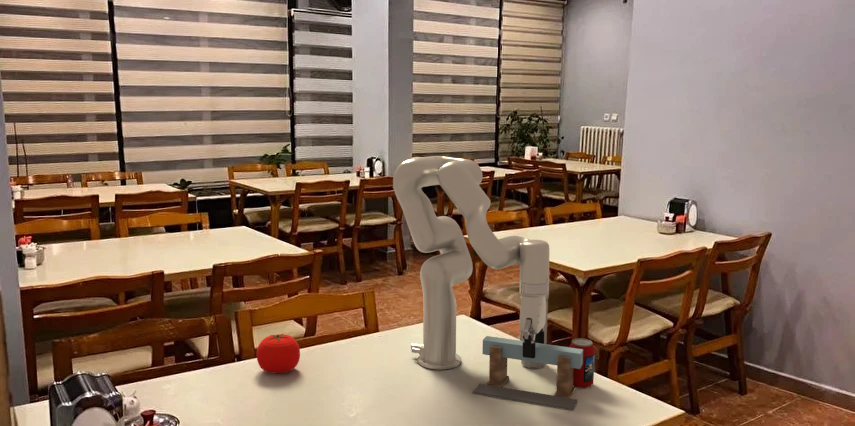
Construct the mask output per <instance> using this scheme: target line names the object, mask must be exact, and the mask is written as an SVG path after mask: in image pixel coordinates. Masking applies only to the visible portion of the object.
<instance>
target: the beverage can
mask: <svg viewBox="0 0 855 426" xmlns="http://www.w3.org/2000/svg"><path fill="white" fill-rule="evenodd" d="M568 347H570V348H577V349H583V364H582V366H581V368H580V369H577V368H574V374H573V386H574V387H575V388H577V389H578V388H579V389H587V388H590V387H591V386H593V385H594V381H595V380H594V379H595V378H594V377H595V357H596V354H595V353H596V348H595V346H594V344H593V341H592V340H590V339H588V338H581V337H580V338H574V339H572V340H571V342H570V345H569V346H568Z"/></svg>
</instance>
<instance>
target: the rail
mask: <svg viewBox="0 0 855 426" xmlns="http://www.w3.org/2000/svg"><path fill="white" fill-rule="evenodd" d="M490 346H497V347H502V357H504V358H507V359H511V360H518V361H521V360H524V361H531V362H537V363H544V364H546V365H551V366H552V365H553V366H557V361H558V355H559V356H566V357H570V368H577V369H580V368H581V366H582V364H583V349H577V348H570V347H569V346H562V345H561V346H560V345H556V344H555V345H554V344H547V343H546V344H541V343H536V345H535V358H526V357H523V341H521V340H518V339H511V338H504V337H497V336H490V335H486V336H485V337H484V338H483V339H482V355H484V356H485V355H486V356H490Z"/></svg>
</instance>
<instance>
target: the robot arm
mask: <svg viewBox="0 0 855 426" xmlns="http://www.w3.org/2000/svg"><path fill="white" fill-rule="evenodd" d="M479 165H480V164H479V163H477V162H476V161H474V160H473V159H472V160H471V159H466V158H458V157H450V156H444V155H443V156H442V155H431V156H423V157H422V156H421V157H414V158H413V157H412V158H409V159H406V160H404V161H403V162H401V163H400V164H399V165H398V166H397V168H396V169H395V170H394V171H395V172H394V173H393V179H392V185H393V186H392V187H393V192H394V194H395V196H396V199H397V201H398V203H399V205H400V207H401V210H402V212H403V215H404V218H405V221H406V224H407V227H408V230H409V232H410V236H411V239H412V241H413V243H414V246H415V248H416V250H418V251H419V252H420V253H424V254H427V253H429V254H430V253H433V252H436V251H439V254H438V255H433V256H432V257H429V258H428V259H426V260H425V261H424V262H423V264H422V265H421V267H420V271H419V276H420V277H419V278H420V284H421V289H422V302H423V303H422V308H423V311H422V312H423V315H422V316H423V317H422V318H423V320H422V321H423V322H422V323H423V326H422V327H423V328H422V329H423V331H422V332H423V333H422V337H423V339H422V342H423V343H422V344H418V343H411V345H410V350H411V353H413V354H414V353H415V354H419V355H418V357H417V363H418V364H419V365H420V366H421V367H423V368H426V369H430V370H439V371H440V370H441V371H442V370H450V369H454V368H457V367H458V366H460V365H461V363H462V358H461V357H462V356H461V355H460V354H458V353H457V299H456V296H455V294H454V289H453V286H456V285H457V284H460V283H463V282H465V281H467V280H469V278H470V277H471V276H472V273H473V271H474V270H473V261H472V257H471V254H470V251H469V248H468V246H467V243H466V239H465V238H464V234H463V232H462V229H461V227H460V225H459V224H458V223H457V221H456V220H455V219H453V218H452V217H450V216H445V215H441V216H437V215H436V213H435V211H434V207H433V204H432V202H431V200H430V199H429V197H428V196H427V194H426V193H424V191H423V190H422V188H424V187H425V188H426V187H429V186H430V187H431V186H440V187H441V189H442V190H443V192H444V193H445V194H446V196H447V197H448V198H449V200H450V201H451V202H452V203H453V205H454V206H455V207H456V208H457V210H458V211H459V212H460V214H461V215H462V217H463V218H464V221H465V222H464V223H465V231H466V235H467V238H468V241H469V243H470V246H471V247H472V249H473V250H474V251H475V253H476V254H477V256H478V257H479V258H480V260H481V261H482V262H483V263H485V265H486V266H487V267H489V268H491V269H493V270H502V269H505V268H508V267H510V266H514V265H518V264H519V294H520V295H521V296H522V298H520V299H521V300H520V306H519V307H520V308H519V309H520V310H519V311H520V312H519V324H518V325H519V326H518V327H519V329H518V331H519V332H520V334H521V333H522V332H523V334H524V336H523V357H526V358H535V345H536V343H541V344H544V325H545V320H546V297H545V296H547V295H548V296H549V294H550V245H549V243H548V242H547V241H546V240H542V239H530V238H526V237H523V236H519V235H510V236H504V237H501V238H498V237H497V236H496V235H495V233H494V232H493V231H492V229H491V228H490V226H489V223H488V221H487V212H488V210H489V209H490V208H491V207H490V206H491V199H490V198H489V196H488V195H487V194H486V193H485V190H483V189H482V187H481V186H480V185H481V183H482V181H483V177H484V176H483V171H482V168H481V166H479ZM530 330H532V331H530ZM529 334H530V335H529ZM531 335H532V338H531Z"/></svg>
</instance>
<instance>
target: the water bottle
mask: <svg viewBox="0 0 855 426" xmlns="http://www.w3.org/2000/svg"><path fill="white" fill-rule="evenodd" d="M545 297H546V320H545V325H544V344H547V338H548V335H547V333H548V307H549V297H550V296H549V294H548V295H547V296H545ZM521 298H522V295H521V296H520V299H521ZM530 331H532V330H530ZM519 335H520V336H519V337H520V338H519V339H520V340H519V341H523V336H524V334H523V332H522V333H521V332H520V334H519ZM529 335H530V334H529ZM531 338H532V335H531ZM520 361H521V362H520V363H521V364H522V365H523V367H525V368H528V369H532V370H536V369H537V370H538V369H542V368H544V367H546V365H547V364H544V363H537V362H531V361H524V360H520Z"/></svg>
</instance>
